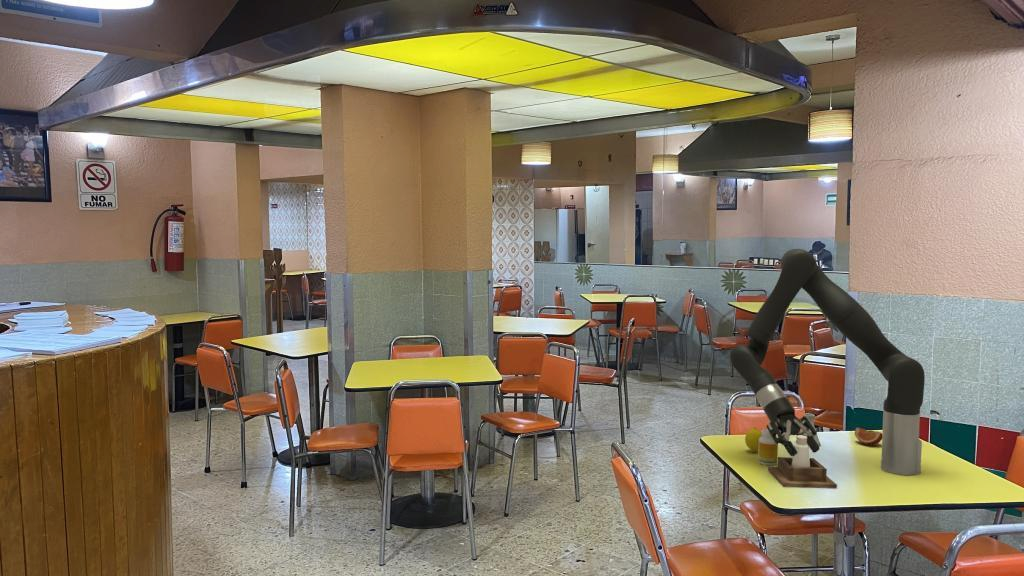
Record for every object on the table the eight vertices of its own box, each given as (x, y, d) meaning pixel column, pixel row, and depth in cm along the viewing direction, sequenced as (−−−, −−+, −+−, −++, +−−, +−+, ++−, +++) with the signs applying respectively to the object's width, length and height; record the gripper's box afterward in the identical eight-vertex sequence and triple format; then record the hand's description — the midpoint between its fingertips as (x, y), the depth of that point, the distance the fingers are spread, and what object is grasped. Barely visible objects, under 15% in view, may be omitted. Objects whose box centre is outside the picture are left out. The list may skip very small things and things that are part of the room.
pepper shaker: (813, 474, 197) (814, 435, 196) (808, 479, 192) (809, 440, 192) (792, 470, 200) (794, 432, 199) (787, 475, 196) (788, 436, 195)
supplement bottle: (778, 466, 207) (779, 433, 207) (759, 465, 208) (760, 432, 208) (775, 460, 213) (776, 429, 212) (756, 459, 214) (757, 427, 213)
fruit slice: (850, 442, 233) (851, 428, 232) (862, 439, 236) (862, 425, 236) (875, 449, 226) (875, 433, 225) (886, 446, 229) (887, 430, 229)
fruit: (744, 448, 225) (745, 423, 224) (762, 450, 223) (763, 425, 223) (745, 453, 220) (745, 428, 219) (764, 455, 218) (764, 429, 218)
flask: (791, 442, 233) (792, 412, 232) (809, 440, 235) (810, 411, 234) (806, 448, 226) (807, 417, 225) (825, 446, 228) (826, 416, 227)
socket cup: (817, 471, 203) (818, 456, 202) (836, 488, 189) (837, 471, 188) (767, 470, 204) (768, 454, 203) (783, 486, 190) (783, 470, 189)
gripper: (764, 398, 198) (795, 449, 189) (800, 393, 205) (832, 443, 195) (749, 412, 203) (779, 463, 194) (785, 408, 210) (815, 456, 200)
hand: (805, 453), depth 194 cm, fingers open, 8 cm apart
